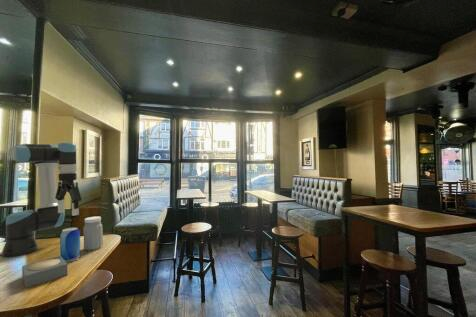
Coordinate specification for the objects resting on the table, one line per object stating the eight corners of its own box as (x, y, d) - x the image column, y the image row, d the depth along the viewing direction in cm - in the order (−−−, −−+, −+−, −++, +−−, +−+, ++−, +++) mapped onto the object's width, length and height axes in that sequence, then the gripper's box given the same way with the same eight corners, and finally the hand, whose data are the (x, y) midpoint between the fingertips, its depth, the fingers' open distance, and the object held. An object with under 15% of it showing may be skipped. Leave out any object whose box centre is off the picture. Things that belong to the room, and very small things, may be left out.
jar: (81, 252, 130) (81, 220, 130) (85, 246, 139) (85, 217, 139) (101, 249, 134) (101, 218, 134) (104, 243, 143) (103, 215, 143)
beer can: (69, 263, 116) (69, 231, 116) (56, 262, 117) (55, 231, 118) (84, 256, 124) (83, 227, 124) (71, 255, 126) (70, 226, 126)
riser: (22, 277, 103) (22, 265, 103) (61, 266, 113) (60, 255, 113) (25, 288, 93) (25, 275, 93) (67, 274, 103) (67, 263, 104)
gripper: (47, 172, 120) (47, 213, 120) (72, 173, 108) (73, 218, 108) (63, 172, 127) (63, 210, 127) (89, 172, 115) (89, 214, 115)
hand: (68, 213), depth 118 cm, fingers open, 13 cm apart
